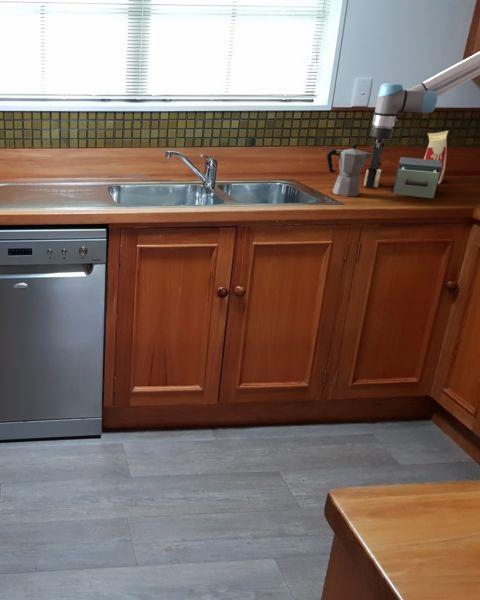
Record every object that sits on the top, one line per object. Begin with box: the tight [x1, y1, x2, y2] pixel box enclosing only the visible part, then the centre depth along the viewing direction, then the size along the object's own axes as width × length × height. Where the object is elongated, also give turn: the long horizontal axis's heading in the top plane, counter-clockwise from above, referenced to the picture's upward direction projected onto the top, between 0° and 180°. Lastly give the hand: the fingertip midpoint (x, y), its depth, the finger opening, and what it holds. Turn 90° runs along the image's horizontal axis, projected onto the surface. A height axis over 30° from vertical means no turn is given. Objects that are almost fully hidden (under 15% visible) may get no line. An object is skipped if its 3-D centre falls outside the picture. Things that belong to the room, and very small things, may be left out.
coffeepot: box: [325, 143, 373, 197], centre depth 219 cm, size 15×9×18 cm, turn 76°
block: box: [363, 168, 382, 188], centre depth 236 cm, size 5×5×6 cm
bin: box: [393, 166, 439, 199], centre depth 218 cm, size 21×13×9 cm, turn 152°
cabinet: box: [392, 156, 442, 197], centre depth 227 cm, size 16×14×11 cm
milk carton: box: [423, 130, 449, 184], centre depth 243 cm, size 9×9×20 cm
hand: (370, 184), depth 237 cm, fingers open, 11 cm apart
